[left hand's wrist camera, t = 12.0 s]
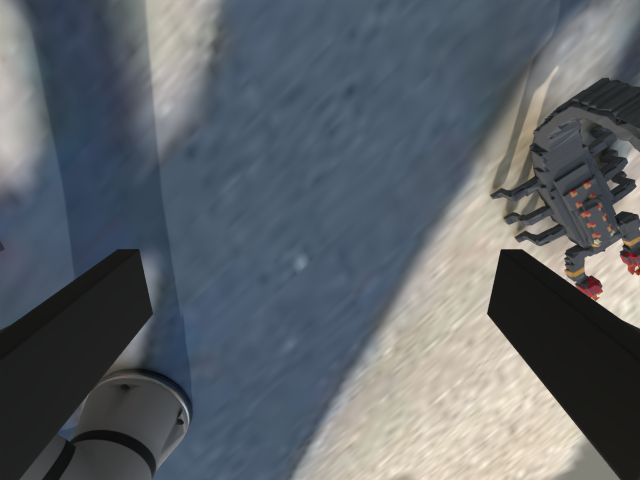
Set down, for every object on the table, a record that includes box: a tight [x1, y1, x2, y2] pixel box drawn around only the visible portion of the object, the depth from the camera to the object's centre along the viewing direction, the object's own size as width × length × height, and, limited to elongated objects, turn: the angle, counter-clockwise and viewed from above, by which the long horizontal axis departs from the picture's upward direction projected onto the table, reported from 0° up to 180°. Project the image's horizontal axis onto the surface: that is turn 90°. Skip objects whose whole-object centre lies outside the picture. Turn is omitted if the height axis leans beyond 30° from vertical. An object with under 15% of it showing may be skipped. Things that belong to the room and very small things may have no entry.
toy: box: [490, 78, 640, 301], centre depth 31 cm, size 13×27×18 cm, turn 37°
